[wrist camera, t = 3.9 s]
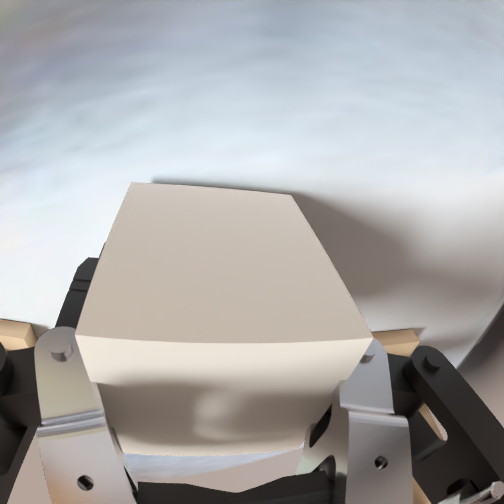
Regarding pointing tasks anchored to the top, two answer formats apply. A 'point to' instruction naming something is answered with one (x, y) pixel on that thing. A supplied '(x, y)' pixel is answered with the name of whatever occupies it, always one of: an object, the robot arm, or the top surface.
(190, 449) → the cream block
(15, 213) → the top surface
